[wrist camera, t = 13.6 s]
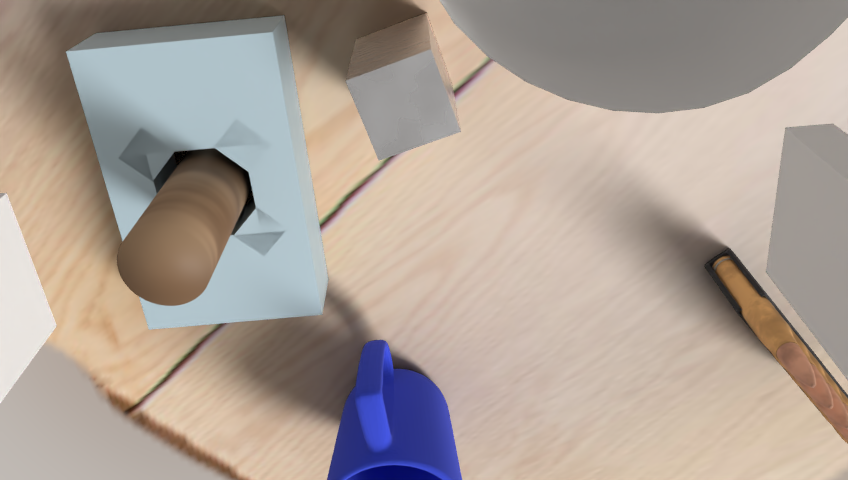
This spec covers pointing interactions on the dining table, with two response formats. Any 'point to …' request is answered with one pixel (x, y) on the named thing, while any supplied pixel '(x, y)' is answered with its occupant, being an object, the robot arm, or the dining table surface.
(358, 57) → the square steel bar
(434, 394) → the mug
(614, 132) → the dining table surface
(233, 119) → the bore block
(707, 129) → the dining table surface
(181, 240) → the walnut dowel
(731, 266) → the ammunition clip
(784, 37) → the bowl
